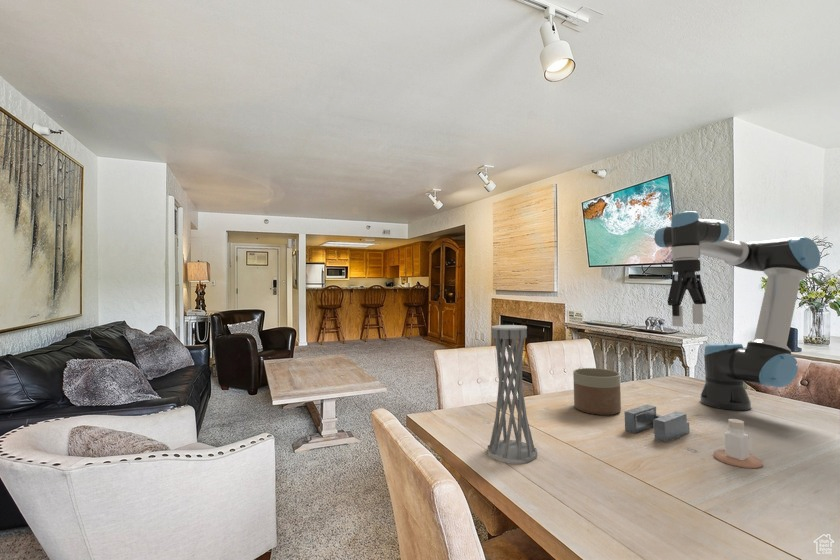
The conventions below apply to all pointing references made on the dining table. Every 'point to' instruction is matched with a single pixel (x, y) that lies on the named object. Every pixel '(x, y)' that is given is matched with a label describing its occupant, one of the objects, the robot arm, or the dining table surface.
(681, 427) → the vise
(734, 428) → the pepper shaker
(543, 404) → the dining table surface
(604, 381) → the planter
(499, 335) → the grey tall lattice tower
